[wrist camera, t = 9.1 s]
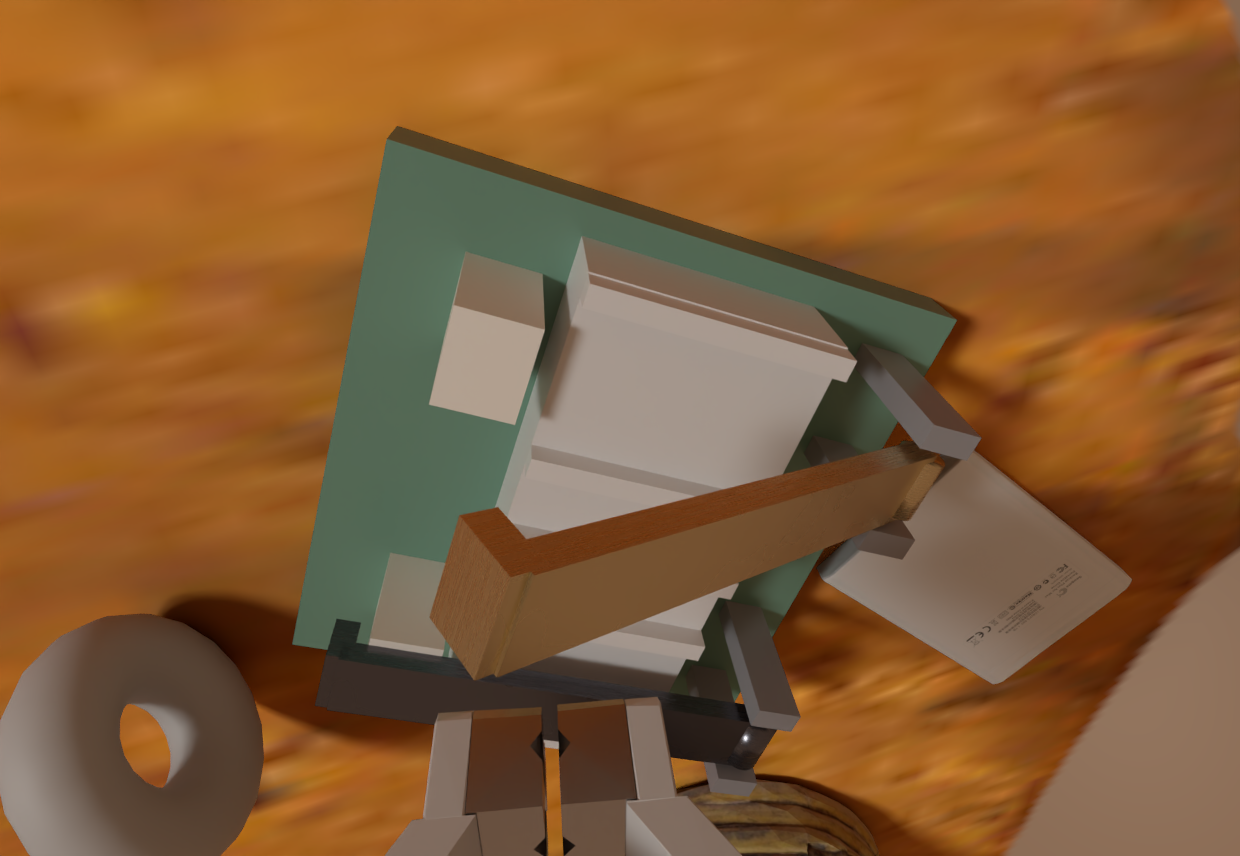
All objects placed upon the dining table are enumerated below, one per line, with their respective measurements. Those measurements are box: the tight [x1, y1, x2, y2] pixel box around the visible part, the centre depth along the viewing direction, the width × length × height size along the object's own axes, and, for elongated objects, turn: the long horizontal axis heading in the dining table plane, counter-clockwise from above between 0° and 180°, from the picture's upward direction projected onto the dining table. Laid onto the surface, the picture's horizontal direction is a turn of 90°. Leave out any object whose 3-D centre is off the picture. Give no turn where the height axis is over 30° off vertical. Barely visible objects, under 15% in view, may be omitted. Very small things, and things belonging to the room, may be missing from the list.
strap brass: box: [429, 441, 945, 681], centre depth 19 cm, size 2×16×2 cm
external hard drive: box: [817, 450, 1132, 684], centre depth 35 cm, size 2×8×12 cm
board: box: [292, 126, 981, 797], centre depth 27 cm, size 20×19×8 cm
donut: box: [0, 614, 264, 856], centre depth 29 cm, size 10×4×10 cm, turn 28°
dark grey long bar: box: [315, 619, 777, 770], centre depth 28 cm, size 2×16×2 cm, turn 71°
